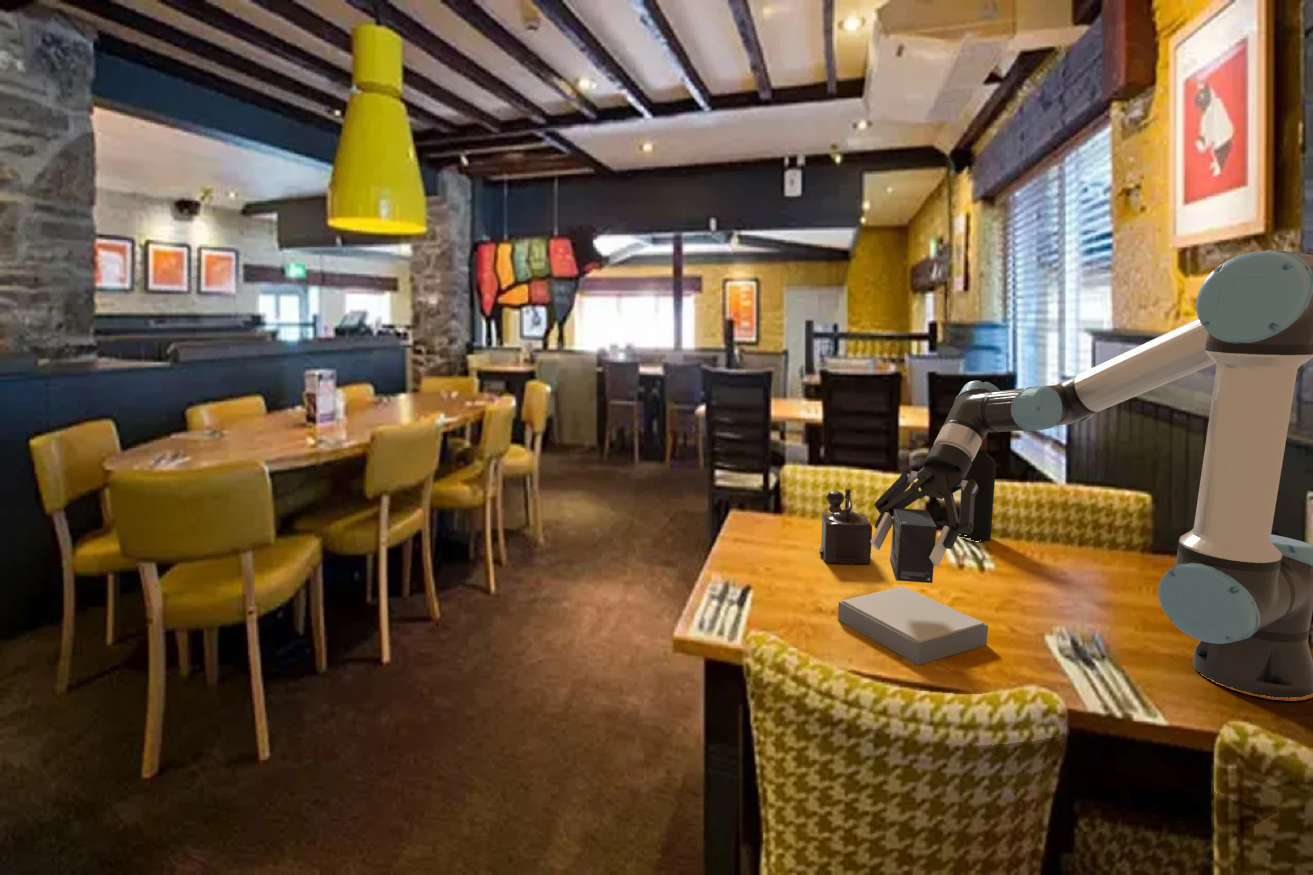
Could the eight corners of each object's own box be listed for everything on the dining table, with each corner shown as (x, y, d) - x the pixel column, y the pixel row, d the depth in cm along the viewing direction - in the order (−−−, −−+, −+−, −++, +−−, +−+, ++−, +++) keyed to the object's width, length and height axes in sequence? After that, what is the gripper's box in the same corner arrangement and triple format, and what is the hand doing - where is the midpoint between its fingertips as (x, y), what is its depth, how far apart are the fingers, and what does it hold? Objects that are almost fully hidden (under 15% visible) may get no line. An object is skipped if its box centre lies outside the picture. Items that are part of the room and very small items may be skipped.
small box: (935, 584, 126) (938, 525, 124) (895, 582, 127) (898, 523, 125) (925, 563, 136) (928, 508, 134) (889, 561, 137) (891, 506, 135)
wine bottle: (956, 539, 184) (963, 421, 179) (959, 531, 191) (967, 417, 186) (989, 543, 181) (998, 423, 176) (991, 535, 187) (999, 419, 182)
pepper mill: (817, 549, 178) (819, 477, 175) (863, 550, 177) (866, 477, 174) (824, 572, 163) (827, 493, 160) (875, 573, 162) (879, 494, 159)
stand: (986, 644, 127) (988, 623, 127) (918, 665, 121) (919, 642, 120) (901, 604, 145) (902, 584, 144) (838, 620, 138) (838, 599, 138)
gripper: (1021, 476, 130) (974, 582, 122) (902, 456, 147) (854, 548, 139) (1010, 451, 125) (960, 559, 118) (889, 433, 142) (839, 527, 135)
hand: (903, 553), depth 129 cm, fingers closed on small box, 11 cm apart
